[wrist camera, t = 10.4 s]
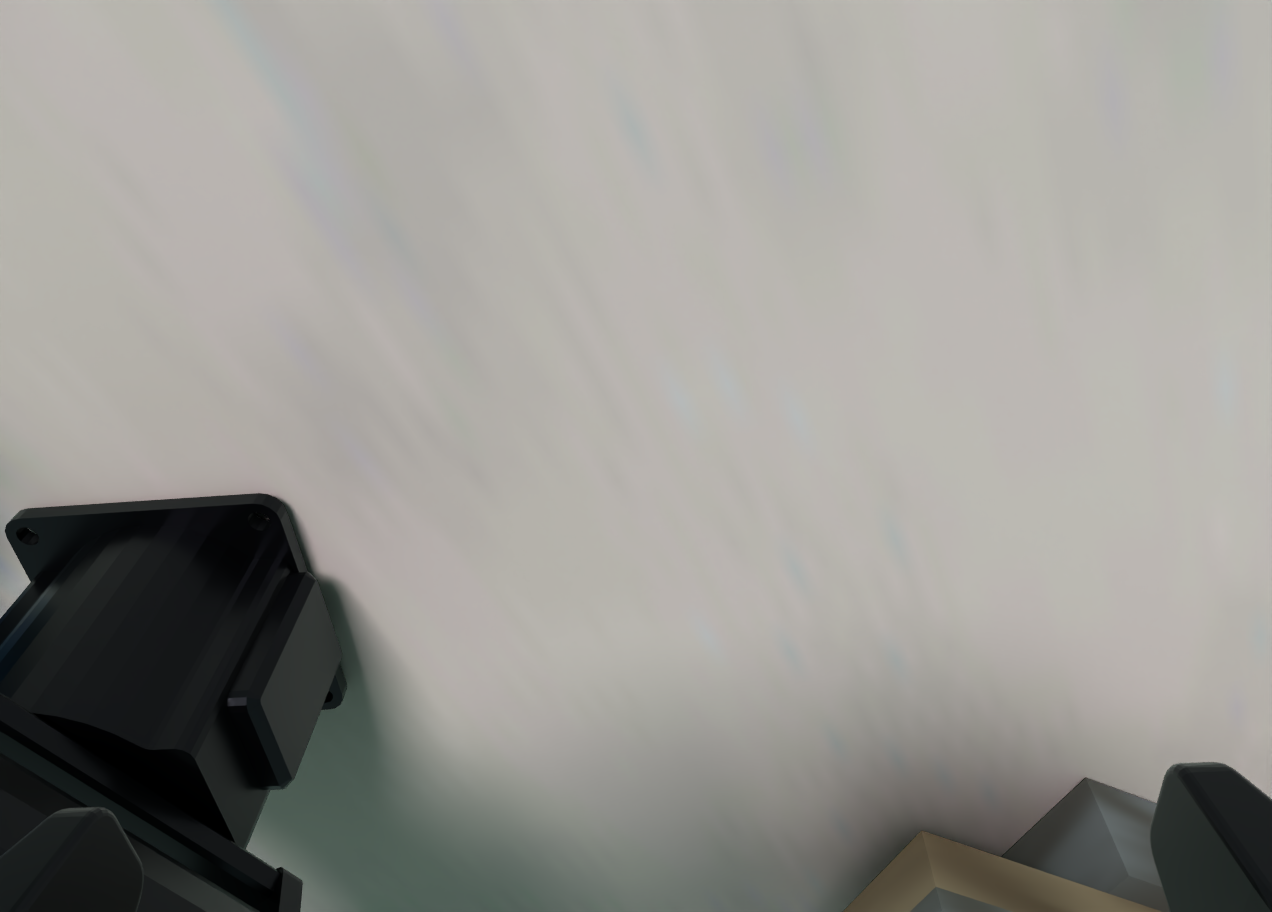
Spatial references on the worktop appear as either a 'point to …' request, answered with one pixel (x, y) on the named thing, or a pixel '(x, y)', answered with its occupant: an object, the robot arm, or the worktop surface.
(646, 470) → the worktop surface
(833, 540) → the worktop surface
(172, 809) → the robot arm
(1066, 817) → the grey open tray
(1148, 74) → the worktop surface
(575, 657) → the worktop surface
